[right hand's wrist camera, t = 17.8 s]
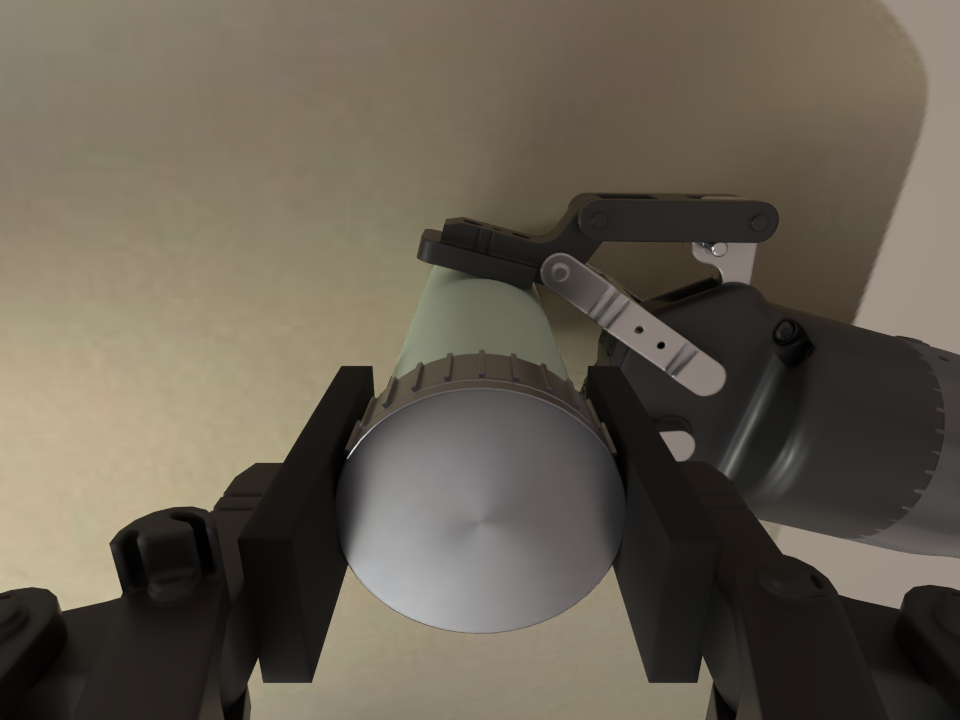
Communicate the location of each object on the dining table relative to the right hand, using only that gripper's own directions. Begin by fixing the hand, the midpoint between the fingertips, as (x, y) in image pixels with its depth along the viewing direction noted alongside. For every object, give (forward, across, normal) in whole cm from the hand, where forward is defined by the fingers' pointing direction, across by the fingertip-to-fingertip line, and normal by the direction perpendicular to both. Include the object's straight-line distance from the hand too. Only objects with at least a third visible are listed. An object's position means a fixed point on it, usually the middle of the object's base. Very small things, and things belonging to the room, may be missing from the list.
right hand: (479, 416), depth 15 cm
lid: (-4, 0, 0) cm, 4 cm away
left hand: (+6, -2, +1) cm, 6 cm away
